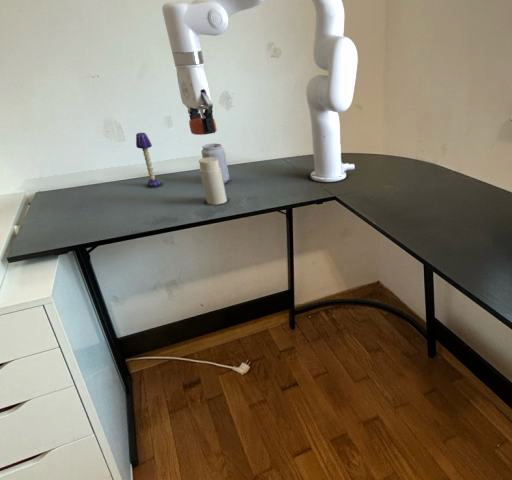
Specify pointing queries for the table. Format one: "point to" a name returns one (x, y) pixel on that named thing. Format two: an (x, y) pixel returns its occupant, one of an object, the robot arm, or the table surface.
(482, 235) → the table surface
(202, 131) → the jar lid
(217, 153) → the can
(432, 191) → the table surface
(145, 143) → the toy lamp
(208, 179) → the jar
